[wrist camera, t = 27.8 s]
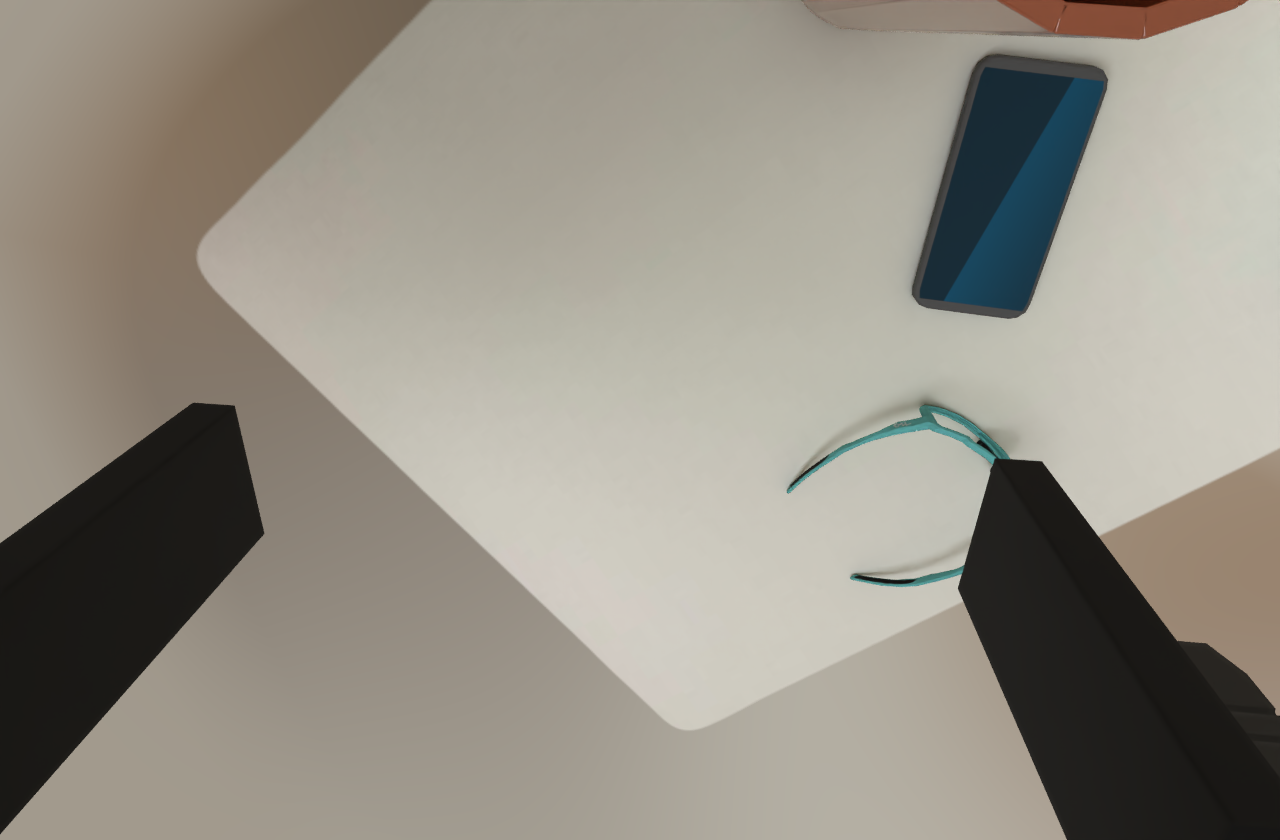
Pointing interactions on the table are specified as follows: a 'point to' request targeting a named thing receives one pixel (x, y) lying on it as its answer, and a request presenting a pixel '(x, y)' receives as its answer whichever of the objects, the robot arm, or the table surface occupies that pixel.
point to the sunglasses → (927, 421)
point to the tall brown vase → (1021, 16)
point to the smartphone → (1007, 183)
